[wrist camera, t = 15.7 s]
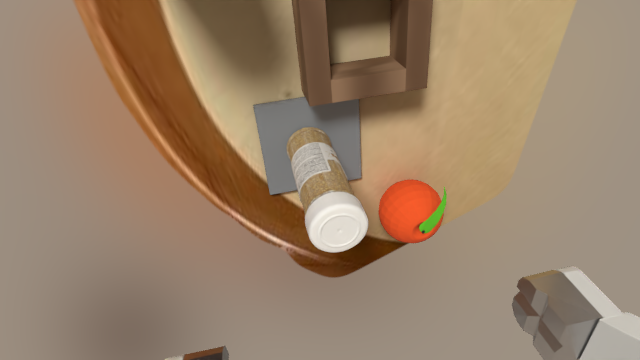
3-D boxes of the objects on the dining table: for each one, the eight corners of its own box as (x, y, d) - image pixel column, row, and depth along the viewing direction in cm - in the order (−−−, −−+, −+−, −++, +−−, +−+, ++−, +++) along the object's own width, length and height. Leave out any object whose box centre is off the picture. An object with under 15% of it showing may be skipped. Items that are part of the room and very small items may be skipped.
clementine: (406, 150, 44) (434, 186, 38) (445, 178, 47) (476, 215, 41) (358, 201, 46) (378, 242, 41) (398, 225, 50) (422, 266, 44)
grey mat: (356, 88, 39) (358, 90, 38) (359, 175, 44) (361, 177, 44) (253, 104, 37) (253, 107, 37) (269, 191, 43) (270, 194, 43)
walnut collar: (414, -53, 33) (436, -49, 30) (409, 73, 39) (426, 87, 36) (287, -38, 32) (295, -33, 28) (301, 90, 38) (309, 106, 34)
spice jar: (335, 155, 42) (376, 240, 30) (294, 171, 42) (321, 263, 31) (321, 117, 39) (360, 197, 28) (277, 135, 39) (299, 221, 28)
